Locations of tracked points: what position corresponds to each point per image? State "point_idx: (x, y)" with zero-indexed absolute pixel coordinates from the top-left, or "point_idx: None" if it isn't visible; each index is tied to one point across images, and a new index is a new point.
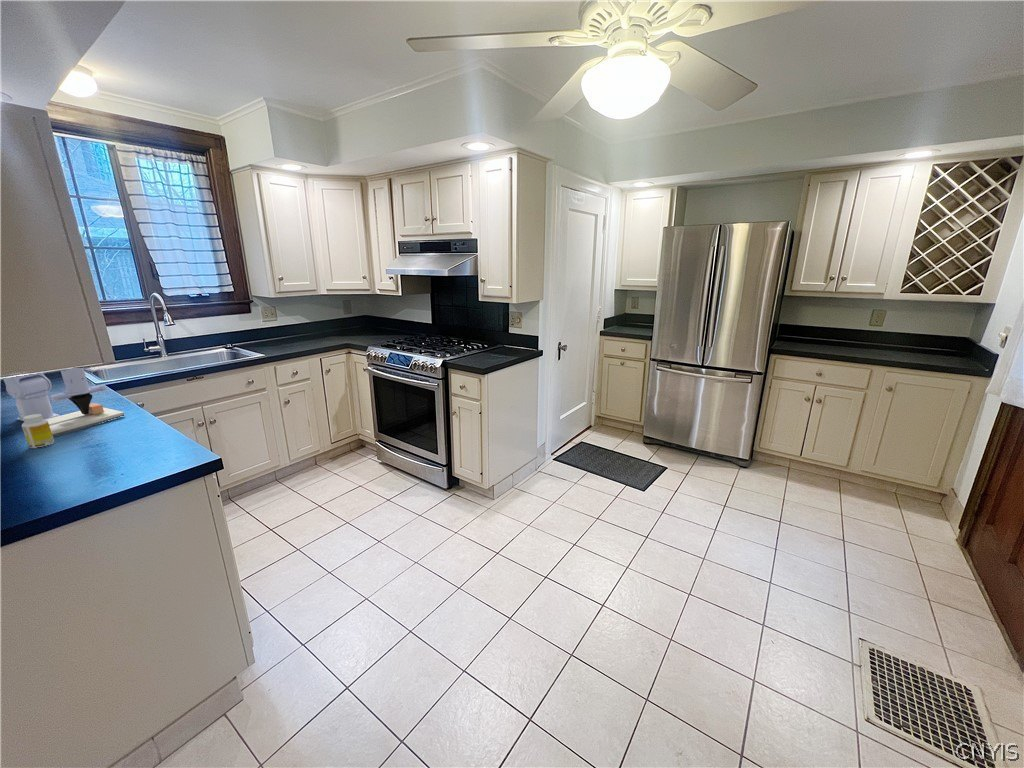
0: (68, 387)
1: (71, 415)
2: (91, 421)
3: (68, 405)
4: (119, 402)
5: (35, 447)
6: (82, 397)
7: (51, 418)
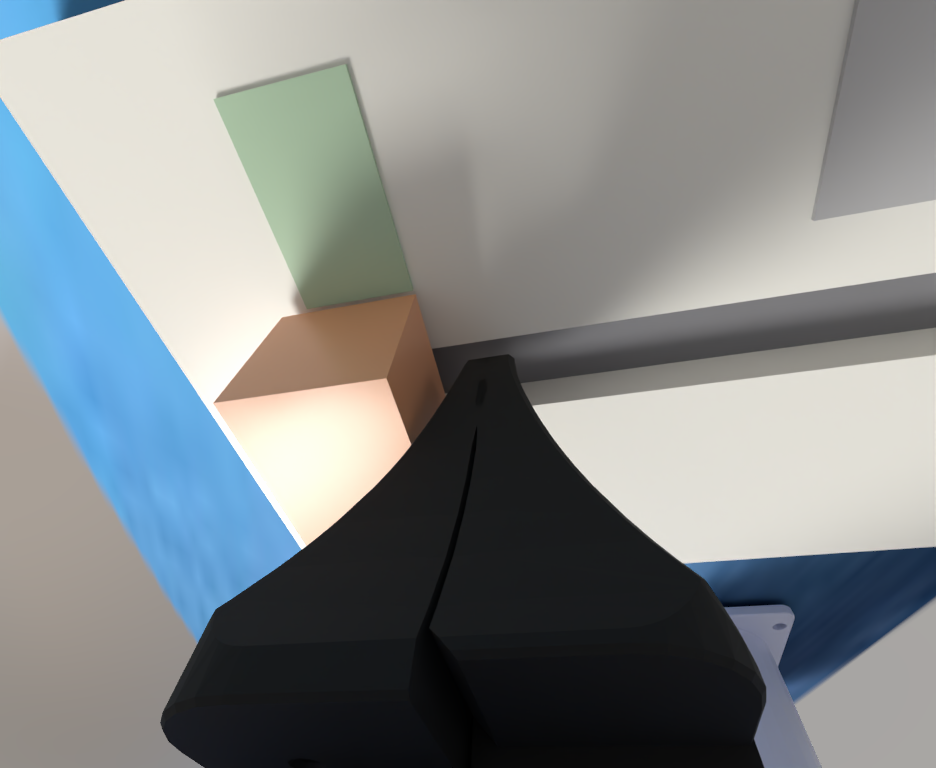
0: None
1: None
2: None
3: None
4: (205, 614)
5: None
6: (481, 699)
7: (750, 543)
